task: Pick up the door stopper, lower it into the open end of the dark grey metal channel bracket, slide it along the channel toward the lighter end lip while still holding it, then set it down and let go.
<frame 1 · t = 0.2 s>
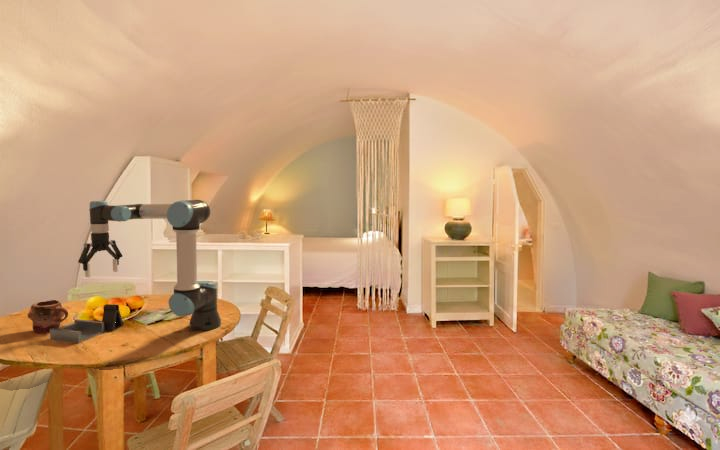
hand: (102, 274, 202), 27 cm above the table, fingers open, 13 cm apart
bracket: (78, 335, 191), on the table
door stopper: (112, 328, 202), on the table
brown clay mug: (50, 330, 197), on the table
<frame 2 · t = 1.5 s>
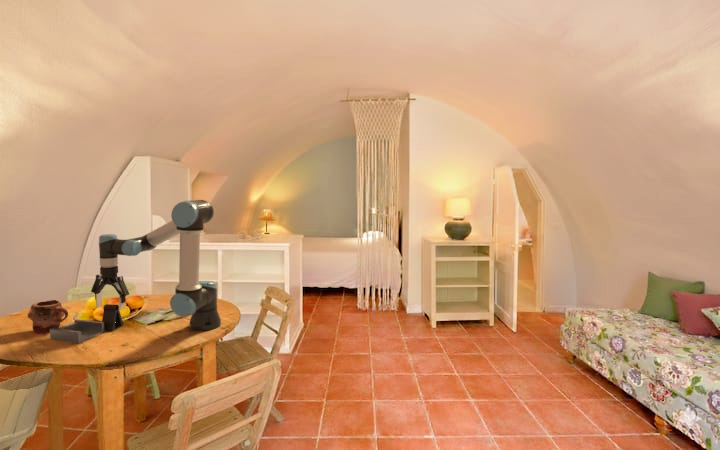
hand: (110, 307, 200), 10 cm above the table, fingers open, 13 cm apart
nothing on the table moved.
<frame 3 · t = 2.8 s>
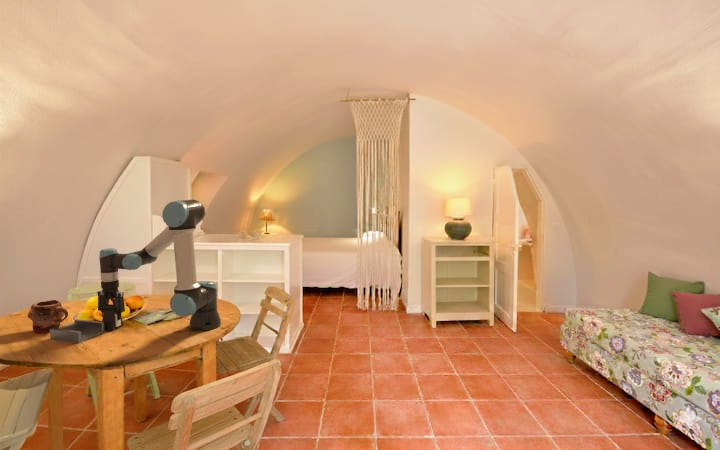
hand: (112, 325, 201), 1 cm above the table, fingers closed on door stopper, 6 cm apart
door stopper: (112, 328, 202), on the table, touching gripper
everything else where it was.
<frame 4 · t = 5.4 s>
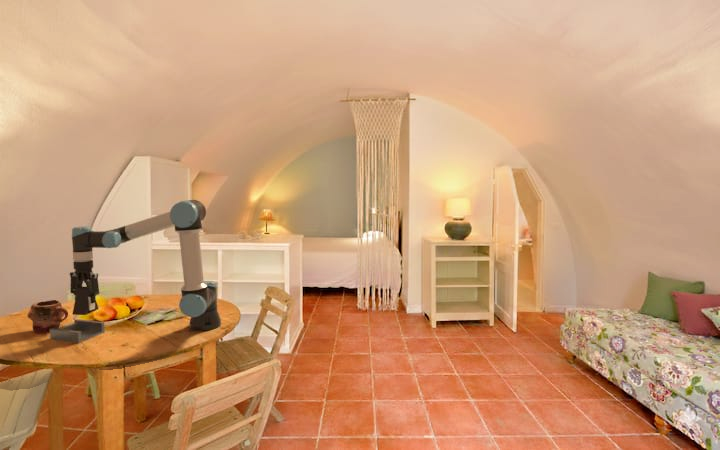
hand: (85, 308, 188), 14 cm above the table, fingers closed on door stopper, 6 cm apart
door stopper: (85, 312, 188), point 12 cm above the table, touching gripper
everything else where it was.
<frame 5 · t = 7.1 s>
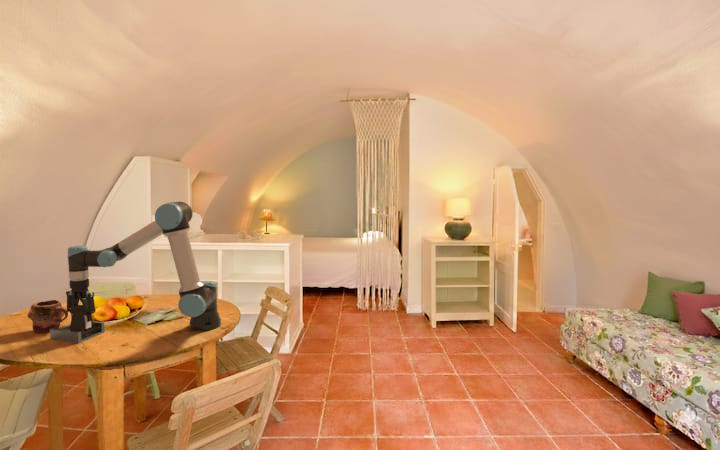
hand: (82, 327, 190), 5 cm above the table, fingers closed on door stopper, 6 cm apart
door stopper: (82, 330, 190), point 3 cm above the table, touching gripper
everything else where it was.
when the fingers open (3 cm above the table, at t = 8.3 s): door stopper stays where it is, resting on bracket.
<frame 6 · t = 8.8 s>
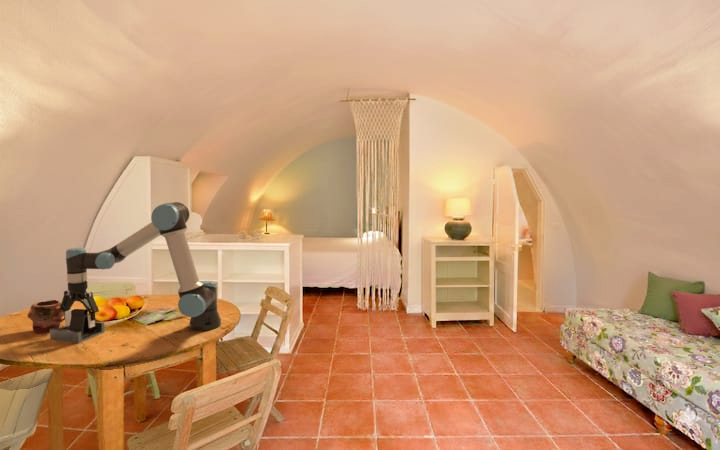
hand: (80, 325, 190), 5 cm above the table, fingers open, 13 cm apart
door stopper: (80, 334, 191), point 1 cm above the table, touching bracket
everything else where it was.
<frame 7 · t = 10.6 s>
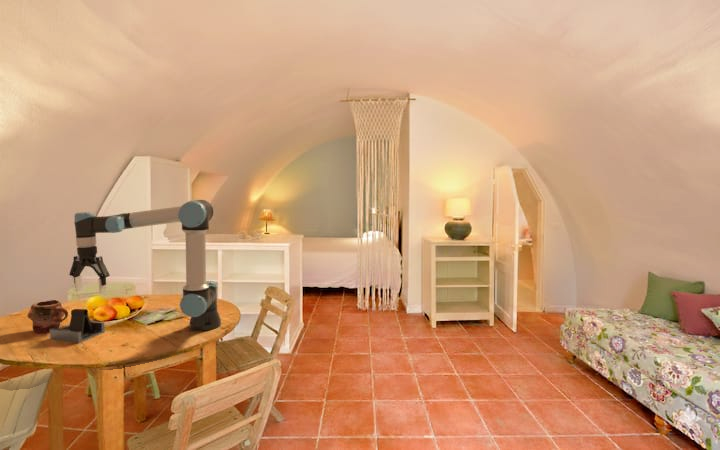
hand: (90, 291, 187), 22 cm above the table, fingers open, 13 cm apart
nothing on the table moved.
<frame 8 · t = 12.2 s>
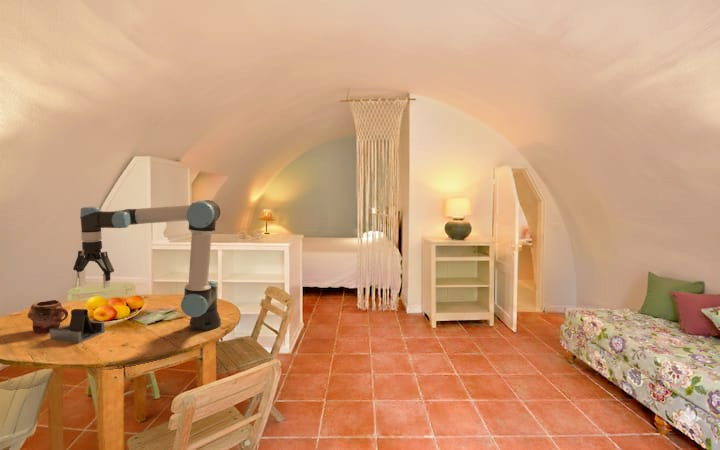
hand: (94, 286, 186), 25 cm above the table, fingers open, 13 cm apart
nothing on the table moved.
at the end: door stopper inside the target area on the bracket (1.1 cm from its centre), point 0.8 cm above the bracket's base; door stopper tilted 0°; the gripper is holding nothing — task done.
